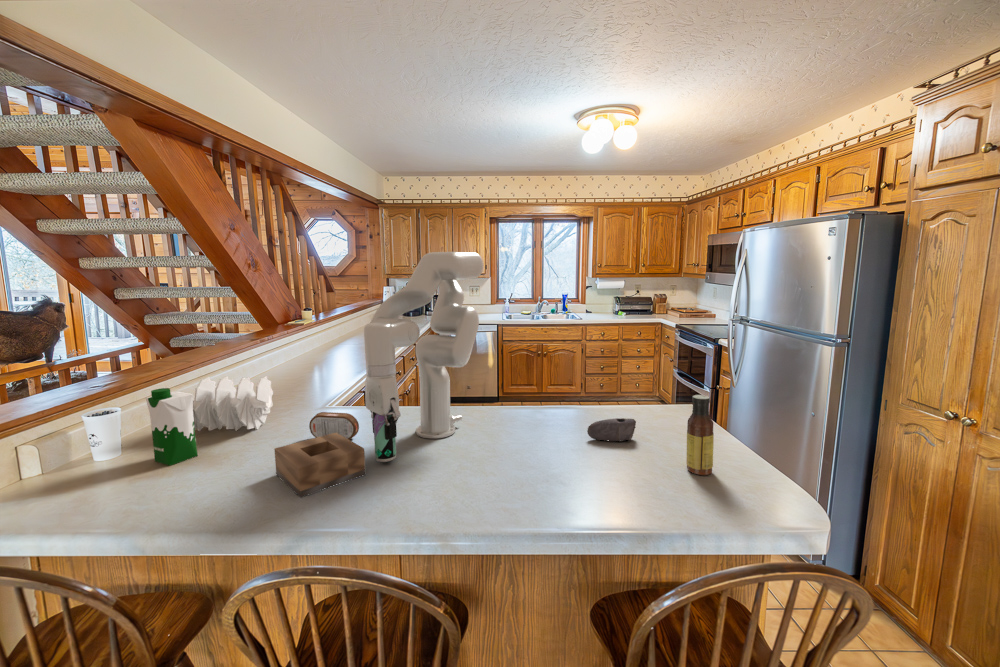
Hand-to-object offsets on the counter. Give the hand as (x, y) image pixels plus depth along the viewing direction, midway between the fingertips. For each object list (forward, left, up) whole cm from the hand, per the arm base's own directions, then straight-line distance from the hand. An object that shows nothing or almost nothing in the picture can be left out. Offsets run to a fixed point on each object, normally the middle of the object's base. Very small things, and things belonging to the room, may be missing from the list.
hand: (384, 434), depth 117 cm
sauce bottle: (-54, +62, -8) cm, 83 cm away
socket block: (+16, -5, -8) cm, 18 cm away
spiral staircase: (+23, -59, -8) cm, 64 cm away
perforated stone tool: (-57, +35, -8) cm, 68 cm away
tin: (+3, -26, -8) cm, 27 cm away
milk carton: (+40, -43, -8) cm, 59 cm away
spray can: (0, 0, -7) cm, 7 cm away
